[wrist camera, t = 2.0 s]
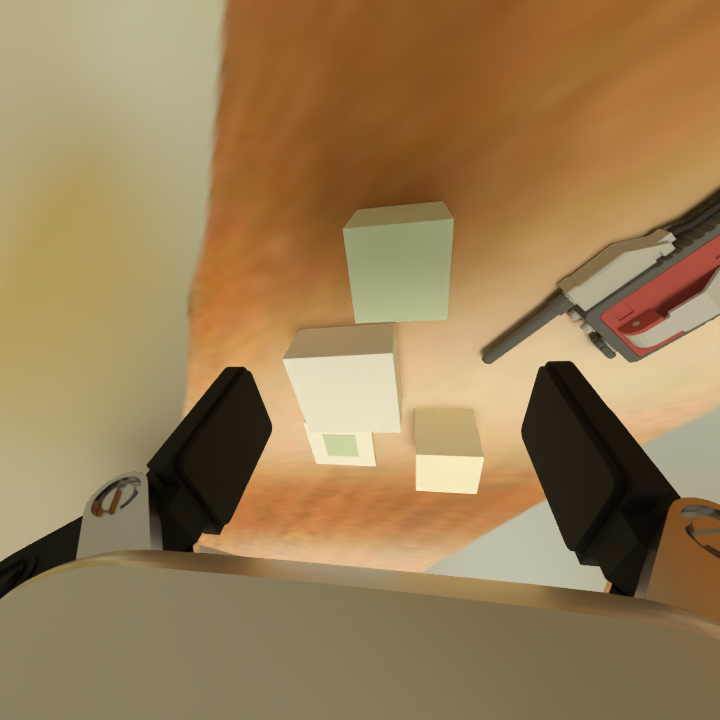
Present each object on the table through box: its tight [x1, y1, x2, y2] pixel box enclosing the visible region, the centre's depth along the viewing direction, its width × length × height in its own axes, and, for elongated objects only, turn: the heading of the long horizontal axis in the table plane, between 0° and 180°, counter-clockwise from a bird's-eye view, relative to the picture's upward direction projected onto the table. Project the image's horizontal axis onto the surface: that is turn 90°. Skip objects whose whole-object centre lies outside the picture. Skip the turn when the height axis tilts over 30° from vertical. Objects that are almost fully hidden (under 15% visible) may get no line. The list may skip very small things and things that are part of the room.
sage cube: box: [343, 201, 454, 323], centre depth 20 cm, size 6×6×6 cm
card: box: [303, 419, 376, 466], centre depth 37 cm, size 8×8×1 cm
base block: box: [283, 323, 402, 433], centre depth 28 cm, size 9×9×5 cm
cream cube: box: [415, 409, 484, 494], centre depth 31 cm, size 6×6×6 cm
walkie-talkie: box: [482, 193, 720, 364], centre depth 21 cm, size 9×4×20 cm
